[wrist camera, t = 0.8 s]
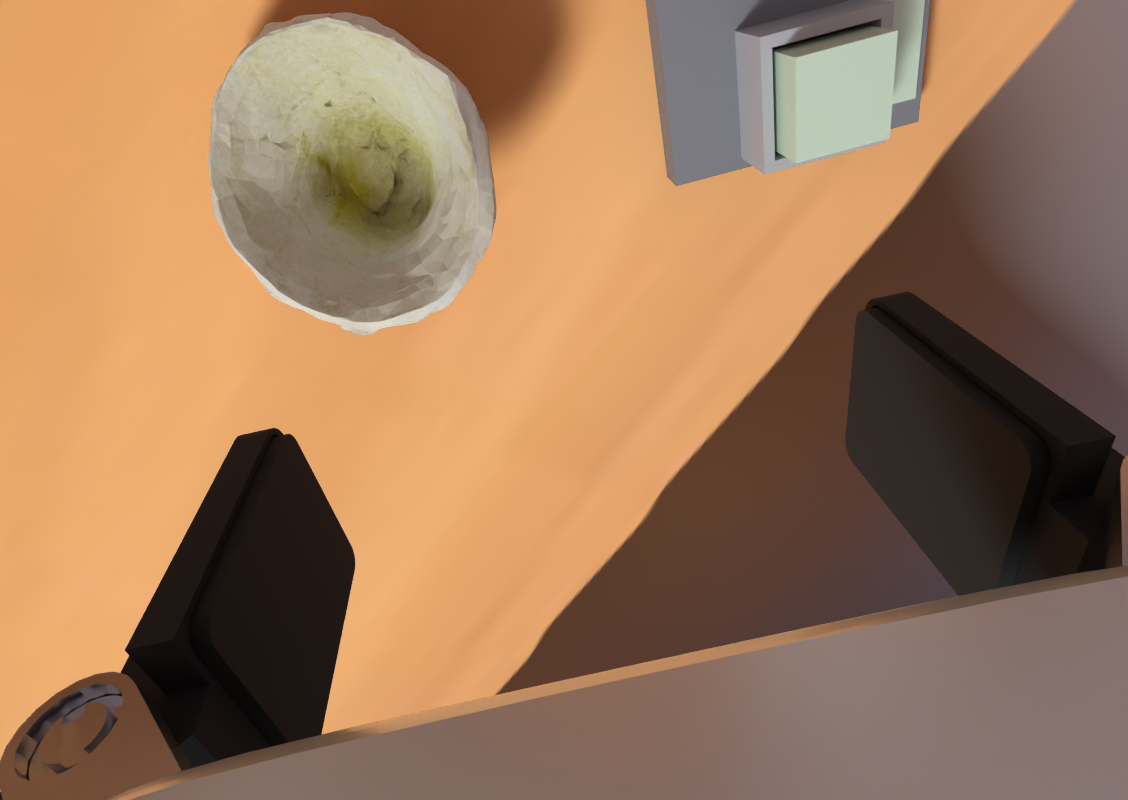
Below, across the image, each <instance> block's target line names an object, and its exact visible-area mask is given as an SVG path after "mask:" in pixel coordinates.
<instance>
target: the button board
mask: <svg viewBox="0 0 1128 800" xmlns="http://www.w3.org/2000/svg"><path fill="white" fill-rule="evenodd" d="M646 6H647V14H648V22H649V31H650V39H651V47H652V55H653V63H654V71H655V79H656V88H657V96H658V104H659V112H660V120H661V128H662V136H663V145H664V153H665V161H666V169H667V177H668V178H669V179H670V180H671V181H672V182H673V183H674V184H675V185H676V186H678V185H682V184H686V183H690V182H693V181H697V180H701V179H705V178H708V177H712V176H716V175H720V174H723V173H727V172H731V171H735V170H738V169H742V168H746V167H750V166H753V167H755V168H756V169H758V170H759V171H760V172H762V173H763V174H768V173H772V172H776V171H780V170H783V169H787V168H791V167H795V166H798V165H802V164H806V163H810V162H813V161H817V160H821V159H825V158H828V157H832V156H836V155H840V154H843V153H847V152H851V151H855V150H858V149H862V148H866V147H870V146H873V145H877V144H881V143H884V140H882V141H878V142H874V143H870V144H867V145H863V146H859V147H855V148H852V149H848V150H844V151H840V152H837V153H833V154H829V155H825V156H822V157H818V158H814V159H810V160H807V161H803V162H799V163H795V162H793V161H791V160H790V159H788V158H786V157H785V156H783V155H781V154H780V153H778V152H776V151H775V141H774V101H773V60H772V50H774V49H778V48H781V47H785V46H789V45H793V44H796V43H800V42H804V41H807V40H811V39H815V38H819V37H822V36H826V35H830V34H834V33H837V32H841V31H845V30H848V29H852V28H856V27H860V26H863V25H868V26H874V27H881V28H887V29H893V30H898V37H897V50H896V63H895V76H894V89H893V103H892V116H891V129H892V128H896V127H900V126H904V125H907V124H911V123H915V122H918V119H919V109H920V99H921V89H922V79H923V69H924V59H925V49H926V39H927V29H928V19H929V9H930V0H646Z"/></svg>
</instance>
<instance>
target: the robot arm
mask: <svg viewBox="0 0 1128 800" xmlns="http://www.w3.org/2000/svg"><path fill="white" fill-rule="evenodd" d="M1115 437H1116V436H1115V435H1113V434H1112V433H1111V432H1109V431H1108V430H1106V429H1105V428H1103V427H1102V426H1101V425H1099V424H1097V423H1096V422H1095V421H1093V420H1092V419H1090V418H1089V417H1088V416H1086V415H1085V414H1083V413H1082V412H1081V411H1079V410H1078V409H1076V408H1075V407H1074V406H1072V405H1071V404H1069V403H1068V402H1066V401H1065V400H1064V399H1062V398H1061V397H1059V396H1058V395H1057V394H1055V393H1054V392H1052V391H1051V390H1049V389H1048V388H1047V387H1045V386H1043V385H1042V384H1041V383H1039V382H1038V381H1036V380H1035V379H1034V378H1032V377H1031V376H1029V375H1028V374H1027V373H1025V372H1024V371H1022V370H1021V369H1019V368H1018V367H1017V366H1015V365H1014V364H1012V363H1011V362H1010V361H1008V360H1007V359H1005V358H1004V357H1002V356H1001V355H1000V354H998V353H996V352H995V351H994V350H992V349H991V348H990V347H988V346H987V345H985V344H984V343H982V342H981V341H979V340H978V339H977V338H975V337H974V336H972V335H971V334H970V333H968V332H967V331H965V330H964V329H963V328H961V327H960V326H958V325H957V324H955V323H954V322H953V321H951V320H950V319H948V318H946V317H945V316H944V315H943V314H941V313H940V312H938V311H937V310H935V309H934V308H933V307H931V306H930V305H928V304H927V303H925V302H924V301H923V300H921V299H920V298H918V297H917V296H915V295H914V294H912V293H910V292H903V293H898V294H894V295H889V296H884V297H879V298H875V299H871V300H870V301H869V302H868V303H867V306H866V308H865V310H861V311H860V312H858V315H857V317H856V325H855V336H854V347H853V359H852V370H851V383H850V394H849V405H848V417H847V428H846V449H847V452H848V455H849V457H850V459H851V461H852V462H853V463H854V465H855V466H856V467H857V469H858V470H859V471H860V472H861V474H862V475H863V476H864V477H865V479H866V480H867V481H868V482H869V484H870V485H871V486H872V487H873V489H874V490H875V491H876V492H877V494H878V495H879V496H880V497H881V499H882V500H883V501H884V503H885V504H886V505H887V506H888V507H889V509H890V510H891V511H892V513H893V514H894V515H895V516H896V518H897V519H898V520H899V521H900V523H901V524H902V525H903V526H904V528H905V529H906V530H907V531H908V533H909V534H910V535H911V537H912V538H913V539H914V540H915V542H916V543H917V544H918V545H919V547H920V548H921V549H922V550H923V552H924V553H925V554H926V555H927V557H928V558H929V559H930V560H931V562H932V563H933V564H934V565H935V567H936V568H937V569H938V570H939V572H940V573H941V574H942V576H943V577H944V578H945V579H946V581H947V582H948V583H949V584H950V586H951V587H952V588H953V589H954V591H955V592H956V593H957V594H958V596H956V597H951V598H946V599H941V600H937V601H932V602H927V603H922V604H918V605H914V606H908V607H903V608H899V609H894V610H889V611H884V612H880V613H875V614H870V615H865V616H861V617H856V618H851V619H846V620H842V621H837V622H832V623H828V624H823V625H818V626H813V627H808V628H804V629H799V630H794V631H790V632H785V633H780V634H775V635H771V636H766V637H761V638H757V639H752V640H748V641H743V642H738V643H734V644H729V645H724V646H720V647H716V648H710V649H706V650H701V651H696V652H692V653H687V654H683V655H678V656H673V657H669V658H664V659H659V660H655V661H650V662H646V663H641V664H637V665H632V666H627V667H623V668H618V669H613V670H609V671H604V672H600V673H595V674H591V675H586V676H581V677H576V678H572V679H567V680H563V681H558V682H553V683H549V684H545V685H540V686H535V687H531V688H526V689H522V690H517V691H513V692H509V693H504V694H499V695H495V696H490V697H486V698H481V699H477V700H472V701H468V702H463V703H459V704H454V705H450V706H445V707H441V708H436V709H432V710H427V711H423V712H418V713H414V714H409V715H405V716H400V717H396V718H391V719H387V720H382V721H378V722H373V723H369V724H364V725H360V726H356V727H352V728H347V729H343V730H339V731H335V732H331V733H327V734H322V735H321V733H322V728H323V723H324V718H325V713H326V709H327V704H328V699H329V694H330V689H331V684H332V679H333V674H334V669H335V664H336V659H337V654H338V649H339V644H340V640H341V635H342V630H343V625H344V620H345V615H346V610H347V605H348V600H349V595H350V590H351V585H352V580H353V575H354V571H355V557H354V552H353V549H352V547H351V545H350V543H349V541H348V539H347V537H346V535H345V533H344V531H343V529H342V527H341V525H340V523H339V521H338V520H337V518H336V516H335V514H334V512H333V510H332V508H331V506H330V504H329V502H328V500H327V498H326V496H325V494H324V493H323V491H322V489H321V487H320V485H319V483H318V481H317V479H316V477H315V475H314V473H313V471H312V469H311V468H310V466H309V464H308V462H307V460H306V458H305V456H304V454H303V452H302V450H301V448H300V446H299V444H298V443H297V441H296V439H295V438H294V437H293V436H292V435H291V434H286V435H283V433H282V432H281V431H280V430H278V429H276V428H272V429H267V430H263V431H258V432H253V433H249V434H244V435H240V436H238V437H237V438H236V439H235V441H234V443H233V445H232V447H231V449H230V450H229V452H228V454H227V456H226V458H225V460H224V462H223V464H222V466H221V468H220V470H219V471H218V473H217V475H216V477H215V479H214V481H213V483H212V485H211V487H210V489H209V491H208V492H207V494H206V496H205V498H204V500H203V502H202V504H201V506H200V508H199V510H198V512H197V513H196V515H195V517H194V519H193V521H192V523H191V525H190V527H189V529H188V531H187V533H186V534H185V536H184V538H183V540H182V542H181V544H180V546H179V548H178V550H177V552H176V554H175V555H174V557H173V559H172V561H171V563H170V565H169V567H168V569H167V571H166V573H165V575H164V576H163V578H162V580H161V582H160V584H159V586H158V588H157V590H156V592H155V594H154V596H153V597H152V599H151V601H150V603H149V605H148V607H147V609H146V611H145V613H144V615H143V617H142V618H141V620H140V622H139V624H138V626H137V628H136V630H135V632H134V634H133V636H132V638H131V639H130V641H129V643H128V645H127V647H126V649H125V651H126V652H127V653H128V654H129V657H128V659H127V661H126V663H125V665H124V667H123V669H122V671H121V673H117V672H107V673H100V674H95V675H92V676H90V677H87V678H85V679H82V680H79V681H77V682H75V683H73V684H72V685H70V686H68V687H67V688H65V689H63V690H61V691H60V692H58V693H56V694H55V695H54V696H53V697H51V698H50V699H49V700H48V701H46V702H45V703H44V704H43V705H41V706H40V707H39V708H37V709H36V710H35V711H34V712H33V713H32V715H31V716H30V717H29V718H28V719H27V720H26V721H25V722H24V723H23V724H22V725H21V726H20V727H19V728H18V730H17V731H16V733H15V734H14V736H13V737H12V739H11V740H10V742H9V743H8V745H7V746H6V748H5V750H4V753H3V755H2V758H1V760H0V791H1V792H0V800H1128V456H1127V457H1124V456H1122V455H1121V454H1120V453H1118V452H1117V451H1115V450H1114V449H1113V448H1111V447H1112V445H1113V442H1114V439H1115Z"/></svg>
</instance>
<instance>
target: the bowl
mask: <svg viewBox="0 0 1128 800" xmlns="http://www.w3.org/2000/svg"><path fill="white" fill-rule="evenodd" d="M208 164H209V176H210V181H211V185H212V190H211V198H212V203H213V212H214V215H215V218H216V219H217V221H218V222H219V224H220V226H221V228H222V230H223V232H224V234H225V236H226V238H227V240H228V242H229V244H230V246H231V247H232V248H233V250H234V251H235V252H236V254H237V255H238V256H239V257H240V258H241V259H242V260H243V261H244V262H245V263H246V264H247V265H248V266H249V267H250V268H251V269H252V271H253V272H254V274H255V275H256V276H257V278H258V279H259V281H260V282H261V283H262V284H263V285H264V286H265V288H266V290H267V291H268V293H269V294H270V295H272V296H273V297H274V298H276V299H278V300H280V301H281V302H283V303H285V304H287V305H290V306H292V307H294V308H297V309H302V310H304V311H306V312H308V313H310V314H311V315H313V316H314V317H316V318H318V319H321V320H324V321H328V322H331V323H335V324H339V326H340V327H341V328H342V329H344V330H347V331H350V332H353V333H356V334H359V335H364V336H365V335H368V334H372V333H375V332H376V331H377V330H379V329H381V328H385V327H390V326H395V325H405V324H410V323H415V322H419V321H420V320H422V319H423V318H425V317H427V316H428V315H430V314H432V313H433V312H436V311H440V310H441V309H443V308H445V307H447V306H448V305H449V304H450V303H451V302H452V301H453V300H454V299H455V297H456V295H457V294H458V292H459V291H460V290H461V289H462V288H463V287H464V285H465V284H466V283H467V281H468V280H469V279H470V277H471V276H472V275H473V271H474V266H475V265H476V264H477V263H478V262H479V260H480V259H481V258H482V256H483V254H484V252H485V251H486V249H487V247H488V245H489V242H490V240H491V237H492V232H493V227H494V223H495V219H496V199H495V187H494V179H493V174H492V168H491V158H490V149H489V140H488V133H487V131H486V128H485V125H484V123H483V121H482V120H481V119H480V116H479V113H478V110H477V107H476V104H475V103H474V101H473V99H472V97H471V95H470V94H469V92H468V90H467V88H466V87H465V86H464V85H463V84H462V83H461V82H460V81H459V79H458V78H457V77H456V76H455V75H454V74H453V73H452V72H451V71H450V70H449V69H448V68H447V67H446V66H444V65H443V64H441V63H440V62H438V61H437V60H436V59H434V58H433V57H431V56H429V55H426V54H424V53H422V52H421V51H420V50H419V49H418V48H417V47H416V46H414V45H413V44H412V43H411V42H410V41H409V40H407V39H406V38H405V37H403V36H402V35H401V34H399V33H398V32H397V31H396V30H393V29H391V28H389V27H386V26H384V25H382V24H381V23H379V22H378V21H377V20H375V19H374V18H372V17H367V16H361V15H358V14H354V13H350V12H342V13H334V14H331V13H324V14H310V15H301V16H296V17H294V18H293V19H291V20H288V21H285V22H270V23H268V24H266V25H264V27H263V29H262V31H261V32H260V33H259V34H258V35H257V37H256V38H255V39H254V40H252V41H251V42H250V43H249V44H248V45H247V46H246V47H245V48H244V49H243V50H242V51H241V52H240V54H239V55H238V57H237V59H236V60H235V62H234V64H233V65H231V67H230V69H229V70H228V72H227V74H226V77H225V79H224V82H223V83H222V85H221V86H220V87H219V89H218V91H217V92H216V94H215V96H214V99H213V102H212V120H211V133H210V144H209V163H208Z"/></svg>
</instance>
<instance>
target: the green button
mask: <svg viewBox="0 0 1128 800" xmlns="http://www.w3.org/2000/svg"><path fill="white" fill-rule="evenodd" d="M897 37H898V30H893V29H887V28H881V27H874V26H868V25H863V26H860V27H856V28H852V29H848V30H845V31H841V32H837V33H834V34H830V35H826V36H822V37H819V38H815V39H811V40H807V41H804V42H800V43H796V44H793V45H789V46H785V47H781V48H778V49H774V50H772V60H773V101H774V141H775V151H776V152H778V153H780V154H781V155H783V156H785V157H786V158H788V159H790V160H791V161H793V162H795V163H799V162H803V161H807V160H810V159H814V158H818V157H822V156H825V155H829V154H833V153H837V152H840V151H844V150H848V149H852V148H855V147H859V146H863V145H867V144H870V143H874V142H878V141H882V140H885V139H889V138H890V129H891V116H892V103H893V89H894V76H895V63H896V50H897Z"/></svg>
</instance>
